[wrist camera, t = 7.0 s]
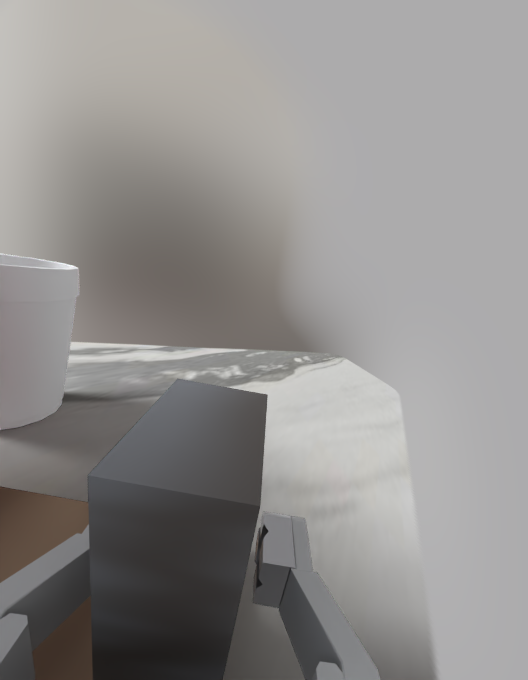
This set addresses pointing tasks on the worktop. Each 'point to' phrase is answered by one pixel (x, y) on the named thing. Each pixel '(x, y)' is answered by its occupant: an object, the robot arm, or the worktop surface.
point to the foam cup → (34, 336)
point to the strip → (153, 540)
